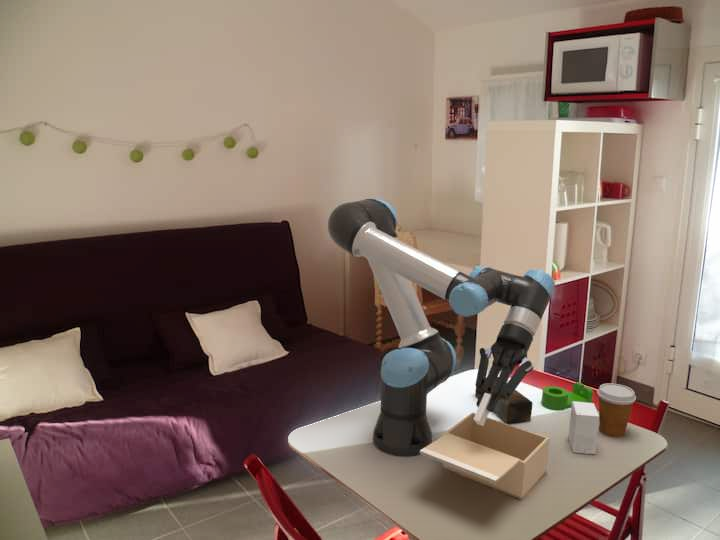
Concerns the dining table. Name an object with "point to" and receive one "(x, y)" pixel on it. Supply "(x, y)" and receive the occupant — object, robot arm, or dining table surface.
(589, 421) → the small box
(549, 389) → the tape dispenser
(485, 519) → the dining table surface
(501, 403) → the dark brown wooden block
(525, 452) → the light wood open box
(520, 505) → the dining table surface
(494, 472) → the light wood flat panel
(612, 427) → the disposable coffee cup
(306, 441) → the dining table surface
